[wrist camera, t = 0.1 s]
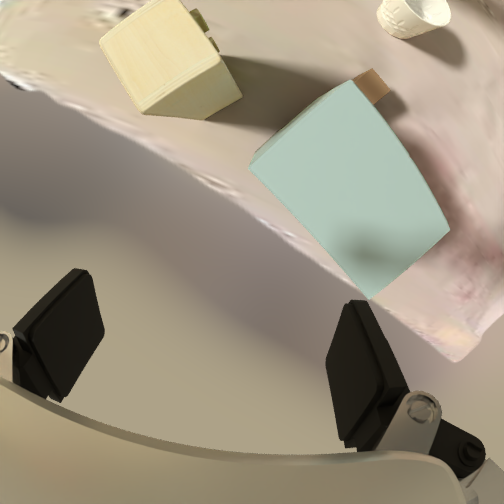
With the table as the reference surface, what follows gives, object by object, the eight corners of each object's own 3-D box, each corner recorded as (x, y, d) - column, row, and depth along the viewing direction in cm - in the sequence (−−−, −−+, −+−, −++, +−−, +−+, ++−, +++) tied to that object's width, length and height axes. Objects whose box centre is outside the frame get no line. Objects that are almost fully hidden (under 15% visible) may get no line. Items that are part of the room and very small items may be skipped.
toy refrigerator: (249, 95, 33) (233, 55, 14) (203, 122, 35) (137, 117, 16) (221, 51, 30) (177, -18, 11) (175, 78, 32) (93, 41, 13)
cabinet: (313, 100, 33) (352, 77, 17) (383, 186, 37) (452, 227, 21) (255, 151, 36) (247, 168, 20) (330, 231, 41) (368, 300, 24)
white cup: (407, 2, 24) (437, -19, 15) (424, 43, 27) (459, 29, 18) (365, 0, 25) (389, -27, 16) (382, 42, 28) (413, 23, 19)
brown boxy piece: (357, 76, 31) (372, 68, 25) (373, 94, 32) (390, 90, 26) (291, 131, 35) (296, 131, 30) (308, 150, 36) (316, 153, 30)
